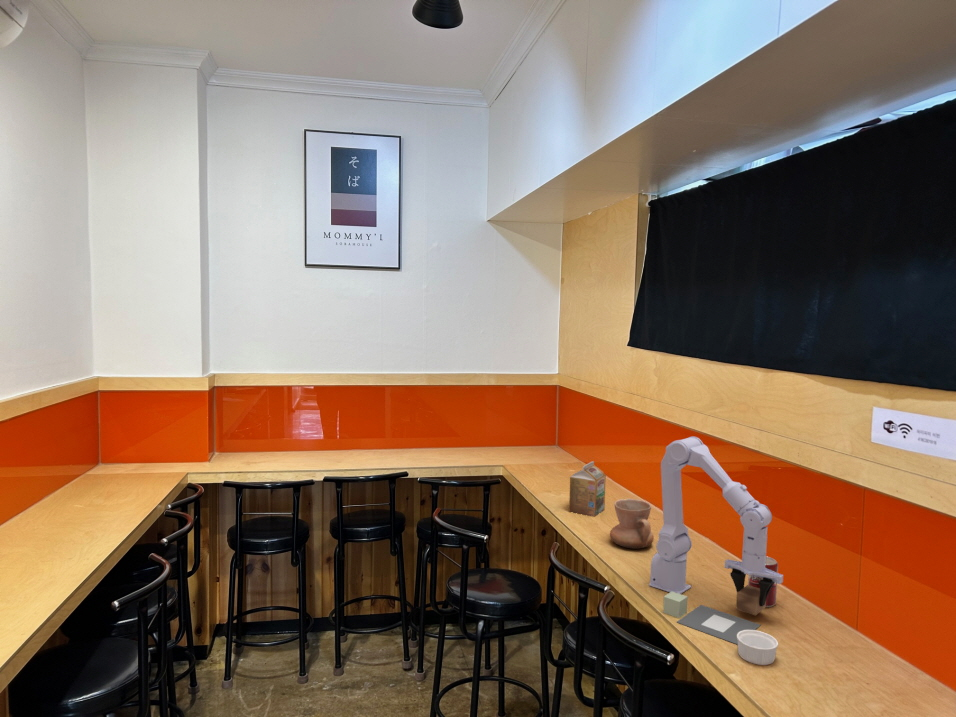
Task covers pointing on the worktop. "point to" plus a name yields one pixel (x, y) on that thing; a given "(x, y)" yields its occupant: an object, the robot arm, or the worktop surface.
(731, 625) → the gray mat
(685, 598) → the sage cube
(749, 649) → the ramekin
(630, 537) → the ceramic jug
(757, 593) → the walnut base block
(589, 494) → the milk carton
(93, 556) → the worktop surface
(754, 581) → the soda can
